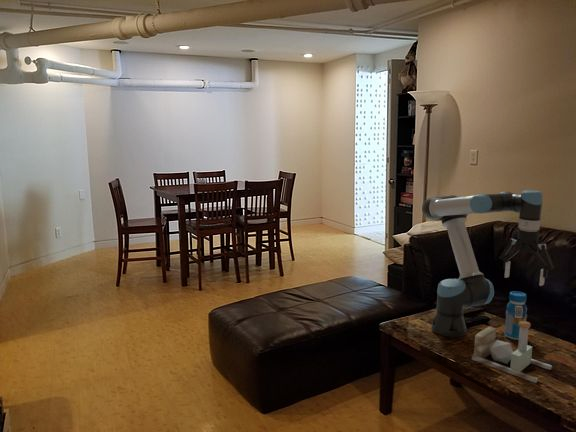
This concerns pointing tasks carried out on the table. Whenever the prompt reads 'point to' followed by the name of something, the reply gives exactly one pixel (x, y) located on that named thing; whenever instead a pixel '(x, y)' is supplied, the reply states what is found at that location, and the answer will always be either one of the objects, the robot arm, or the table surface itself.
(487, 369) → the table surface
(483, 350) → the vise bed
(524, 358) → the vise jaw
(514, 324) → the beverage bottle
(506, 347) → the die
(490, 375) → the table surface
